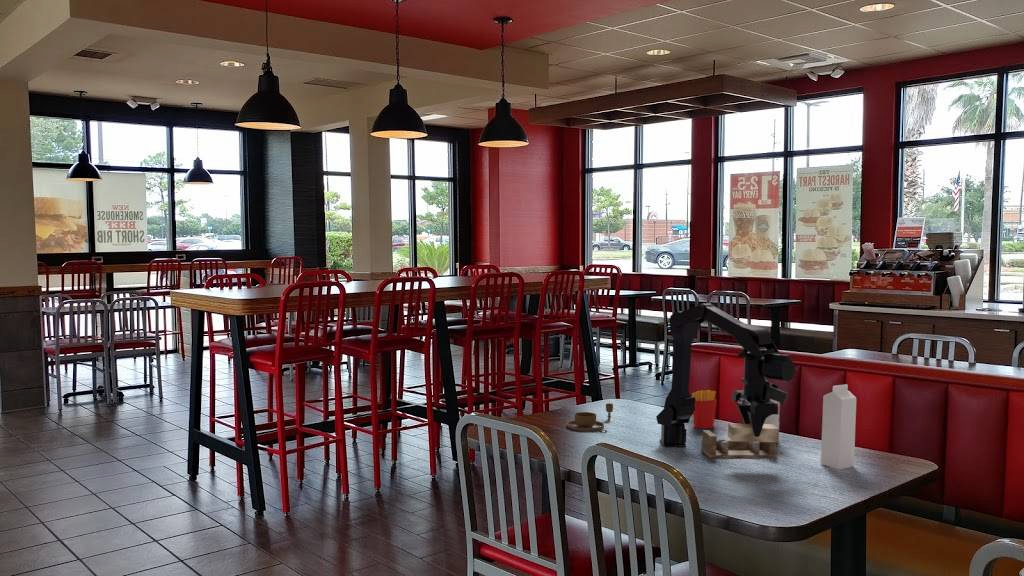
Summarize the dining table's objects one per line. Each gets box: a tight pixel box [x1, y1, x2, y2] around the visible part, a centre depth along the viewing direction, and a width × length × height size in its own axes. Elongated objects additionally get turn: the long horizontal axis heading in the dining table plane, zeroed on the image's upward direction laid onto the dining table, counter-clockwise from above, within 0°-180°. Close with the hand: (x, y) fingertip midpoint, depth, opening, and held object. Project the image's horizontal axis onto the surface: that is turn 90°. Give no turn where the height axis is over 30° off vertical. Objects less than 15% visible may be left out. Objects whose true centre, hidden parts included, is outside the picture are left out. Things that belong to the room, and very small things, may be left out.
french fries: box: [691, 389, 718, 429], centre depth 258 cm, size 8×4×12 cm, turn 111°
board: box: [727, 422, 780, 443], centre depth 212 cm, size 12×5×4 cm, turn 88°
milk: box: [820, 383, 857, 471], centre depth 214 cm, size 6×6×22 cm
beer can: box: [764, 399, 781, 429], centre depth 240 cm, size 6×6×16 cm
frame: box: [700, 429, 778, 459], centre depth 225 cm, size 19×8×6 cm, turn 94°
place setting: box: [566, 402, 614, 433], centre depth 257 cm, size 18×20×6 cm
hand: (753, 434), depth 212 cm, fingers closed on board, 5 cm apart
